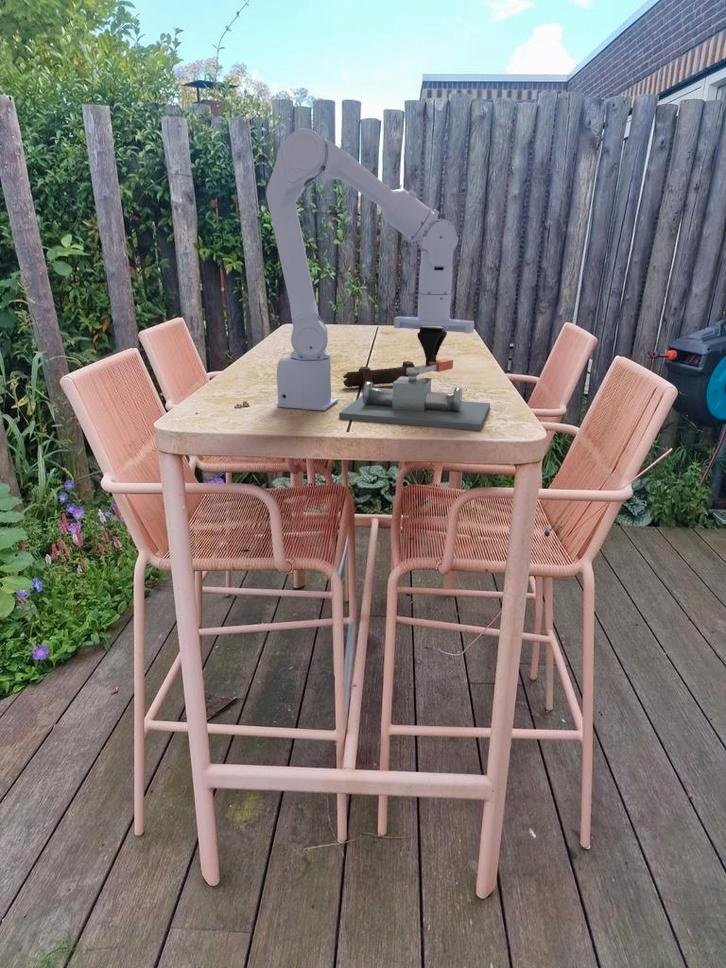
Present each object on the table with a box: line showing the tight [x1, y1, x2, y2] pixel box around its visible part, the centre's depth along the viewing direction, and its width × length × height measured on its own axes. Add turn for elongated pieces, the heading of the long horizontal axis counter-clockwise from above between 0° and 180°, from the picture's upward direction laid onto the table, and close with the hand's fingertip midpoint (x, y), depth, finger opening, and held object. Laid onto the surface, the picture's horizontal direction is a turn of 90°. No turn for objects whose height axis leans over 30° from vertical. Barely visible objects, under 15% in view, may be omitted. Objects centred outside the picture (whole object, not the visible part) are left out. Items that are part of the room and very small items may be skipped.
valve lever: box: [406, 358, 454, 376], centre depth 106 cm, size 12×2×2 cm, turn 137°
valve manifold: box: [362, 375, 463, 412], centre depth 104 cm, size 17×6×6 cm, turn 73°
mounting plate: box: [338, 394, 491, 432], centre depth 105 cm, size 24×15×1 cm, turn 73°
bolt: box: [342, 360, 416, 390], centre depth 125 cm, size 6×5×15 cm
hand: (430, 370), depth 110 cm, fingers closed, pressing on valve lever
